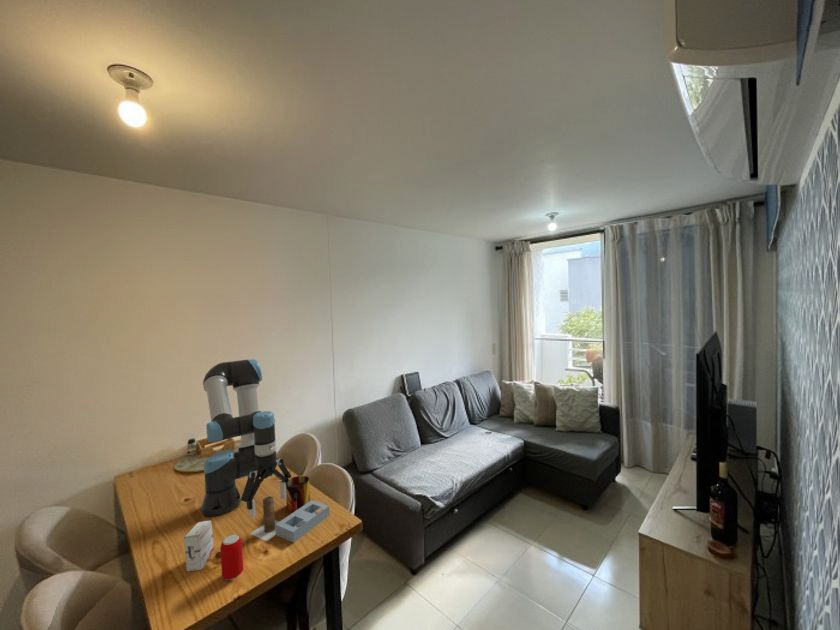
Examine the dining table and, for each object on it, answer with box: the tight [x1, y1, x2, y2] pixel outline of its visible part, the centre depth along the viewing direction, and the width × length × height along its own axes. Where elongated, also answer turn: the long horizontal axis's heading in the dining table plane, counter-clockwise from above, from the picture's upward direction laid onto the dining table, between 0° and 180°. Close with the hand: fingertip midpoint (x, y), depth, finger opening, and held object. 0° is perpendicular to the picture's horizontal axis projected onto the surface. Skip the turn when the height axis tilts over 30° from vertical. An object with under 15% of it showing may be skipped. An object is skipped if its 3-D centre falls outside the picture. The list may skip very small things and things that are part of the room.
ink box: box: [183, 520, 215, 572], centre depth 116 cm, size 9×5×12 cm, turn 5°
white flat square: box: [249, 519, 280, 542], centre depth 131 cm, size 10×10×1 cm
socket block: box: [275, 499, 330, 544], centre depth 133 cm, size 10×18×5 cm, turn 151°
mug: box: [285, 475, 311, 514], centre depth 144 cm, size 10×14×12 cm
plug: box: [262, 495, 276, 533], centre depth 131 cm, size 4×4×12 cm
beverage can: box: [219, 534, 244, 581], centre depth 110 cm, size 6×6×12 cm
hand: (268, 507), depth 130 cm, fingers open, 13 cm apart
